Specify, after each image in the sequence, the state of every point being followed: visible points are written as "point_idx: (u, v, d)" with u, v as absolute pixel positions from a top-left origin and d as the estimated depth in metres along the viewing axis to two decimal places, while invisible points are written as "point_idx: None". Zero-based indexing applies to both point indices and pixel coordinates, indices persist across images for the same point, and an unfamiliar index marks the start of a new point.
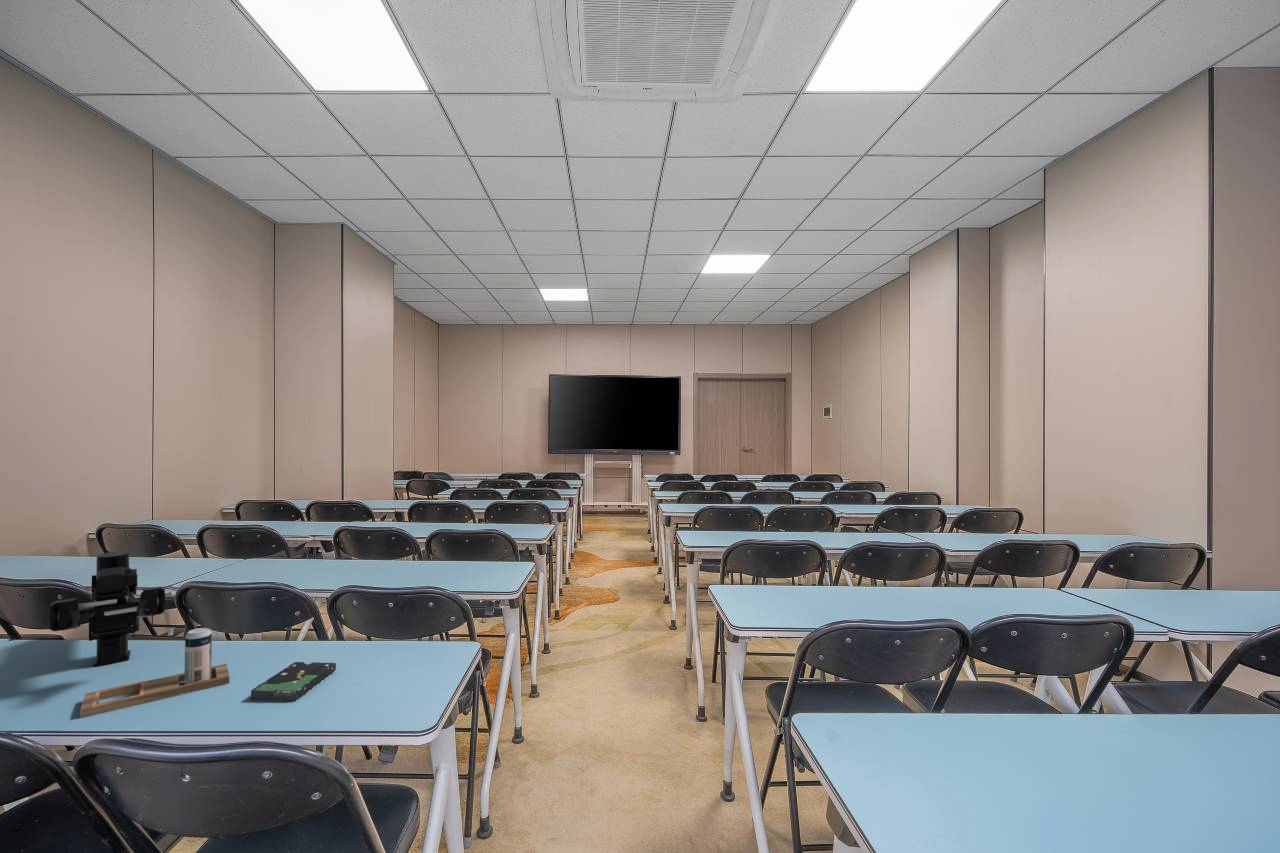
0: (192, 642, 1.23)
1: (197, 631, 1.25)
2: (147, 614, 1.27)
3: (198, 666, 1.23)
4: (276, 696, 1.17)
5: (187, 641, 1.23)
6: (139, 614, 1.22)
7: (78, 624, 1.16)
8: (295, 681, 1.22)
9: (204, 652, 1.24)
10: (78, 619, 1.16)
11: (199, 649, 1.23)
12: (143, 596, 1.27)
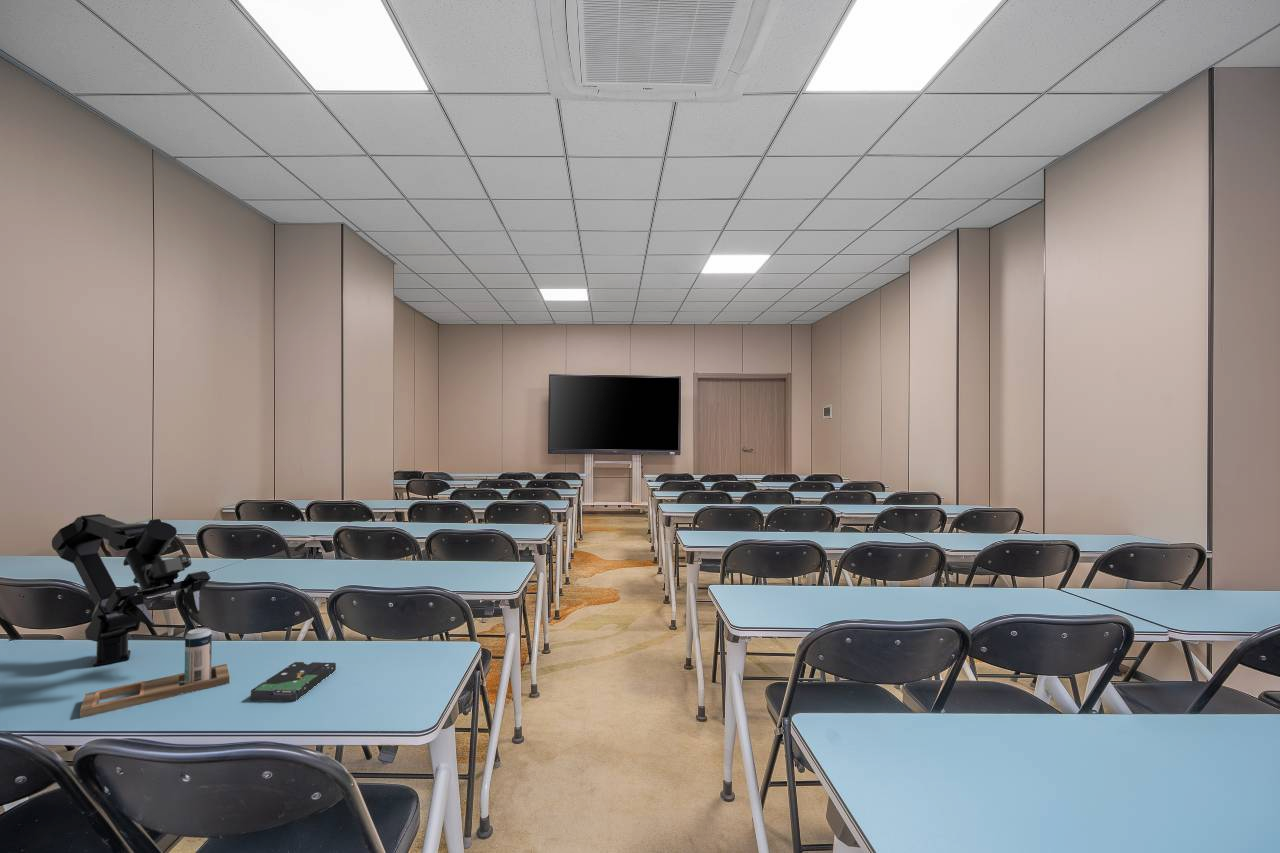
0: (192, 642, 1.23)
1: (197, 631, 1.25)
2: None
3: (198, 666, 1.23)
4: (276, 696, 1.17)
5: (187, 641, 1.23)
6: None
7: (151, 625, 1.24)
8: (295, 680, 1.22)
9: (204, 652, 1.24)
10: (151, 620, 1.24)
11: (199, 649, 1.23)
12: (195, 587, 1.34)
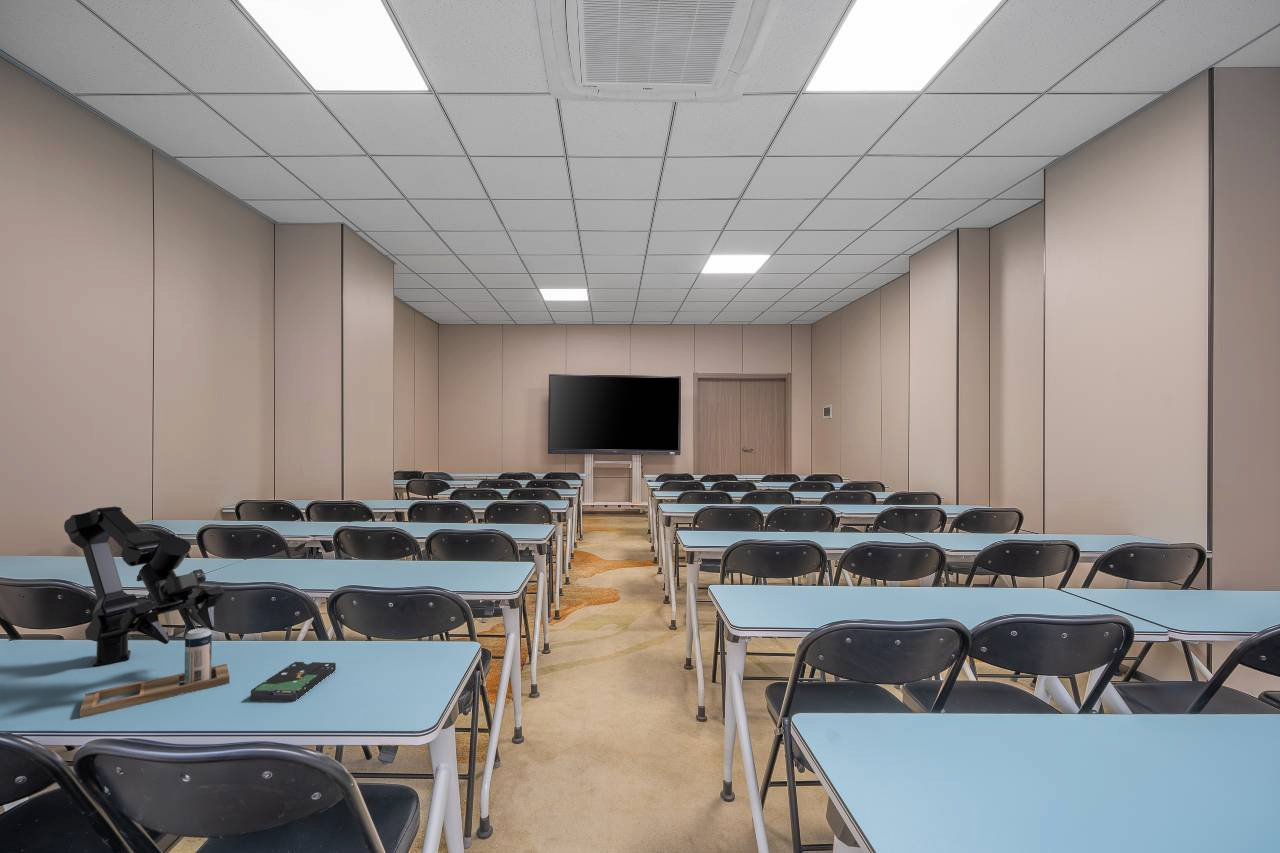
0: (192, 642, 1.23)
1: (197, 631, 1.25)
2: None
3: (198, 666, 1.23)
4: (276, 696, 1.17)
5: (187, 641, 1.23)
6: None
7: (167, 643, 1.22)
8: (295, 681, 1.22)
9: (204, 652, 1.24)
10: (166, 638, 1.22)
11: (199, 649, 1.23)
12: (210, 602, 1.32)
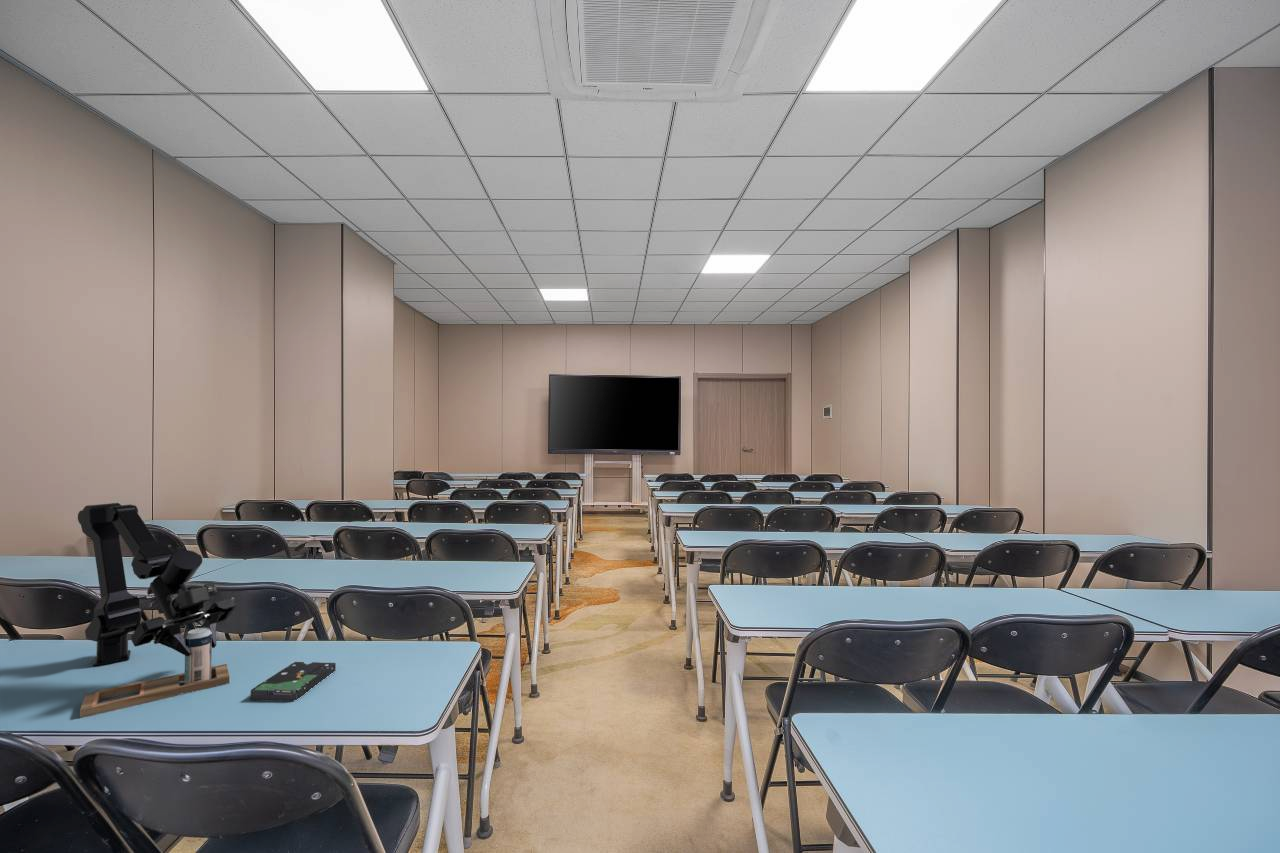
0: (192, 642, 1.23)
1: (197, 631, 1.25)
2: None
3: (198, 666, 1.23)
4: (275, 696, 1.17)
5: (187, 641, 1.23)
6: None
7: (189, 655, 1.22)
8: (295, 680, 1.22)
9: (204, 652, 1.24)
10: (188, 650, 1.22)
11: (199, 649, 1.23)
12: (212, 619, 1.29)
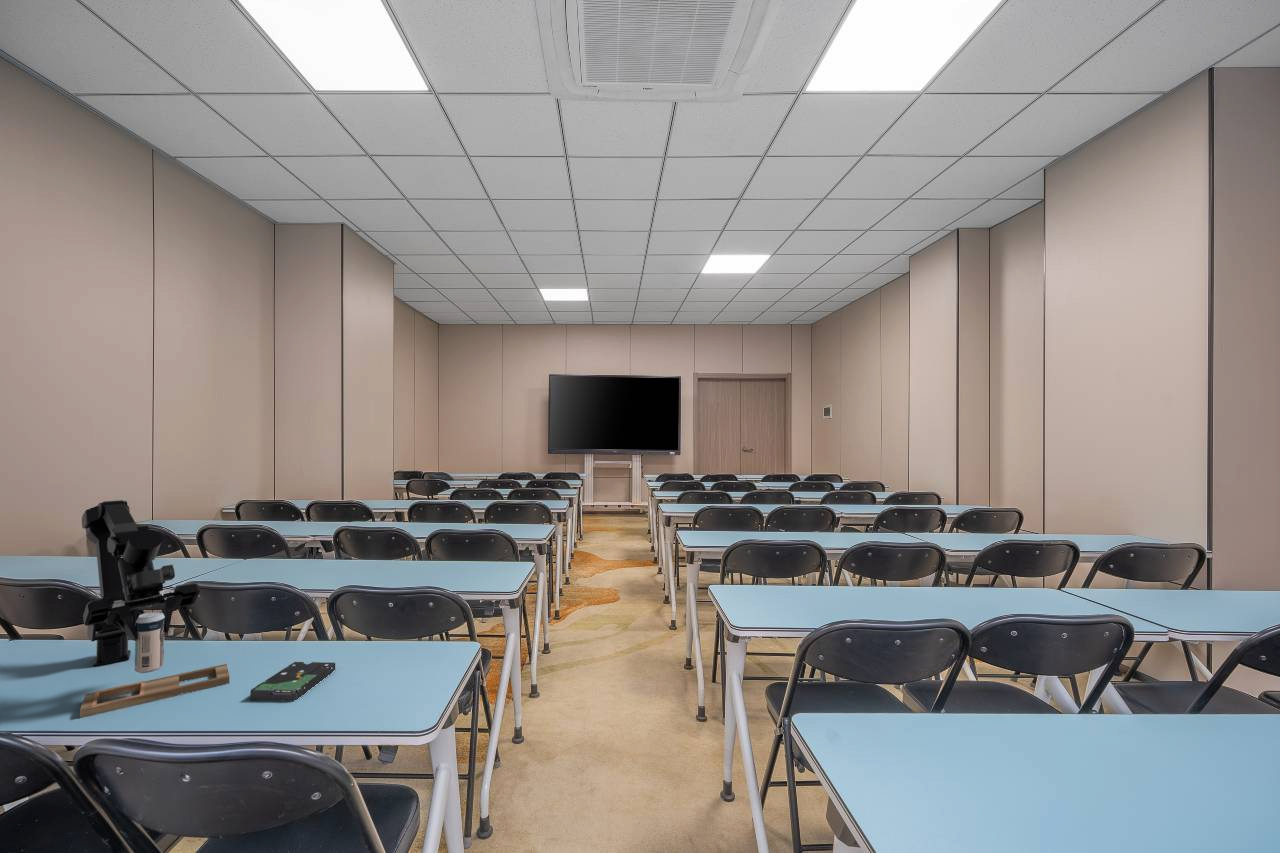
0: (140, 626, 1.17)
1: (148, 615, 1.19)
2: None
3: (146, 652, 1.18)
4: (275, 696, 1.17)
5: (136, 625, 1.17)
6: (168, 630, 1.21)
7: (135, 640, 1.17)
8: (295, 680, 1.22)
9: (152, 638, 1.18)
10: (135, 634, 1.16)
11: (147, 635, 1.17)
12: (169, 603, 1.23)
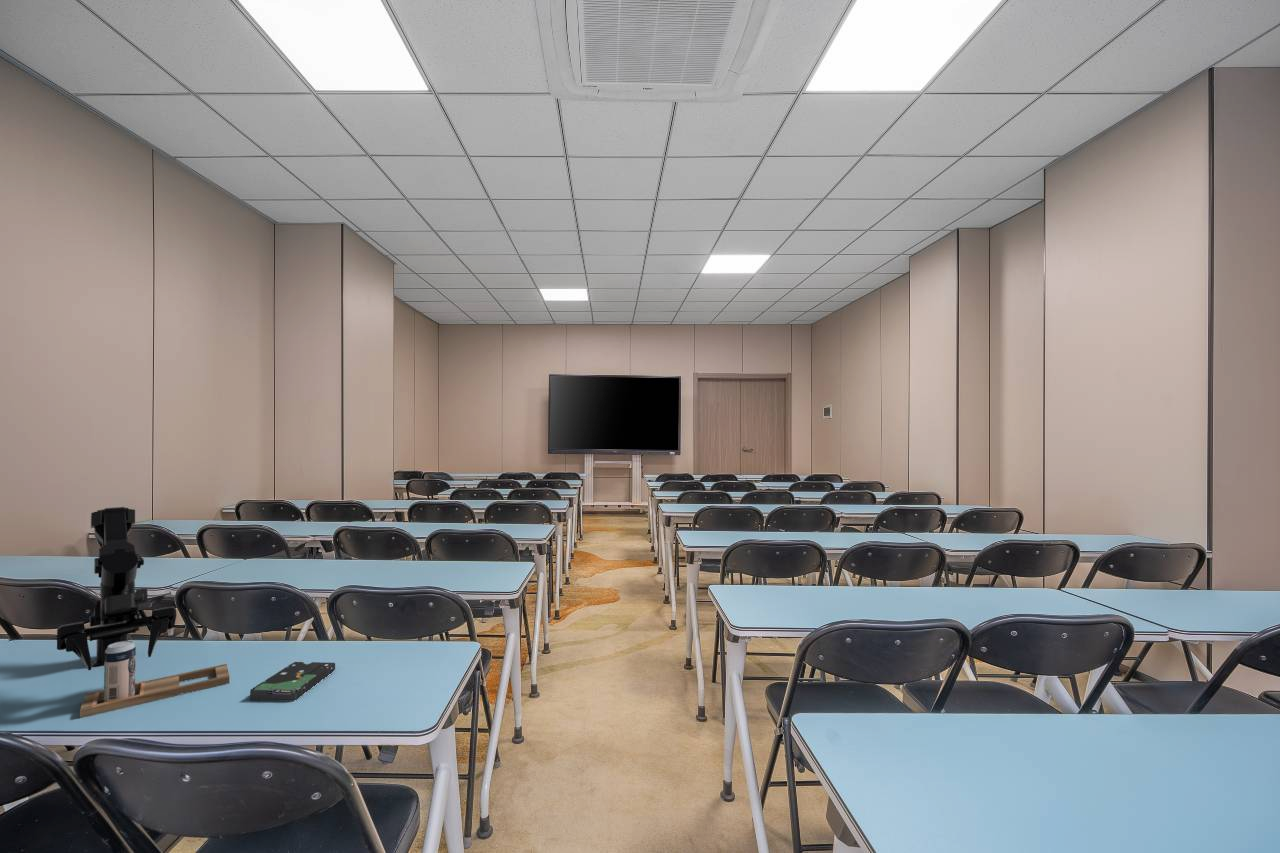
0: (107, 657, 1.14)
1: (118, 645, 1.17)
2: (157, 638, 1.24)
3: (114, 683, 1.15)
4: (275, 695, 1.17)
5: (105, 655, 1.15)
6: (151, 654, 1.20)
7: (89, 669, 1.12)
8: (295, 680, 1.22)
9: (120, 669, 1.15)
10: (89, 664, 1.12)
11: (114, 666, 1.15)
12: (154, 625, 1.22)
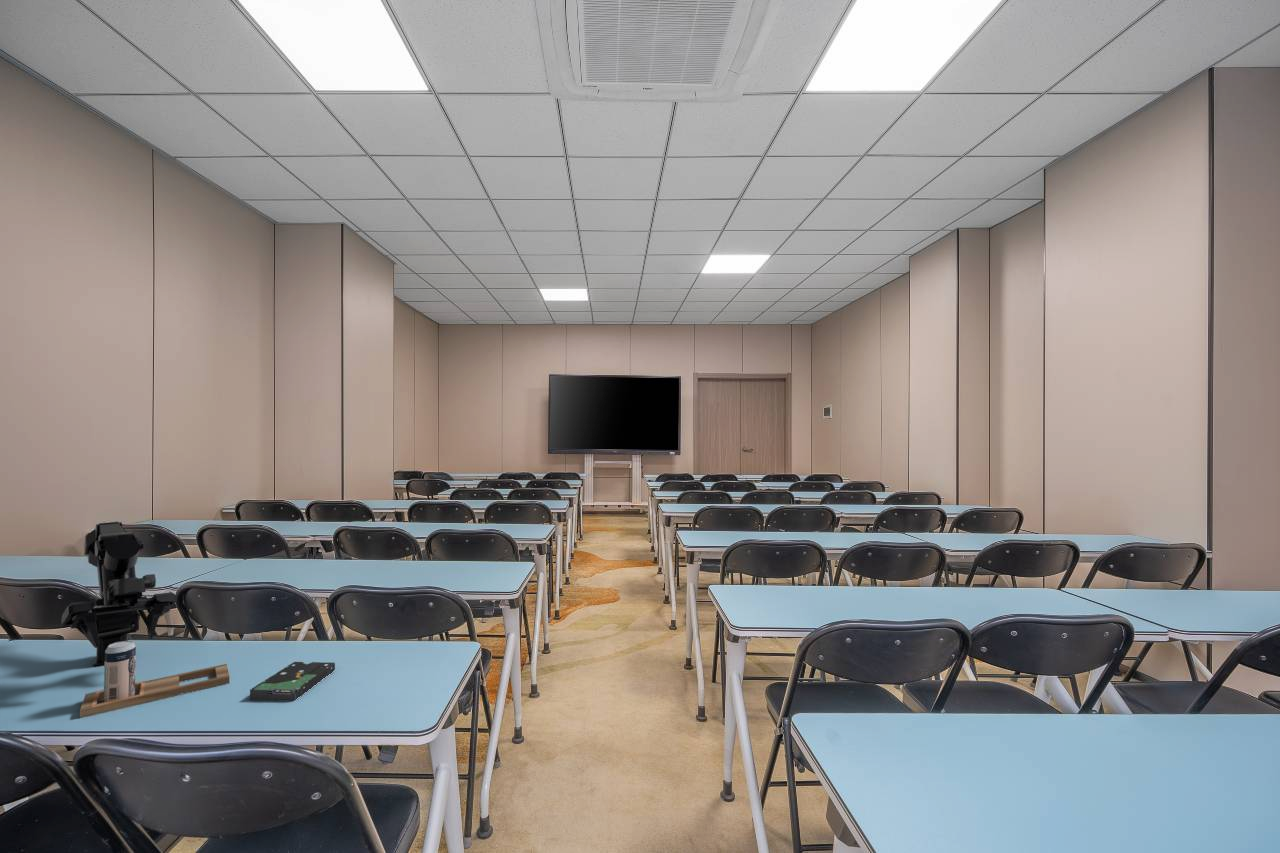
0: (107, 657, 1.14)
1: (118, 645, 1.17)
2: None
3: (114, 683, 1.15)
4: (275, 695, 1.17)
5: (105, 655, 1.15)
6: (152, 636, 1.28)
7: (96, 647, 1.20)
8: (294, 680, 1.22)
9: (120, 669, 1.15)
10: (97, 642, 1.20)
11: (114, 666, 1.15)
12: (156, 609, 1.30)
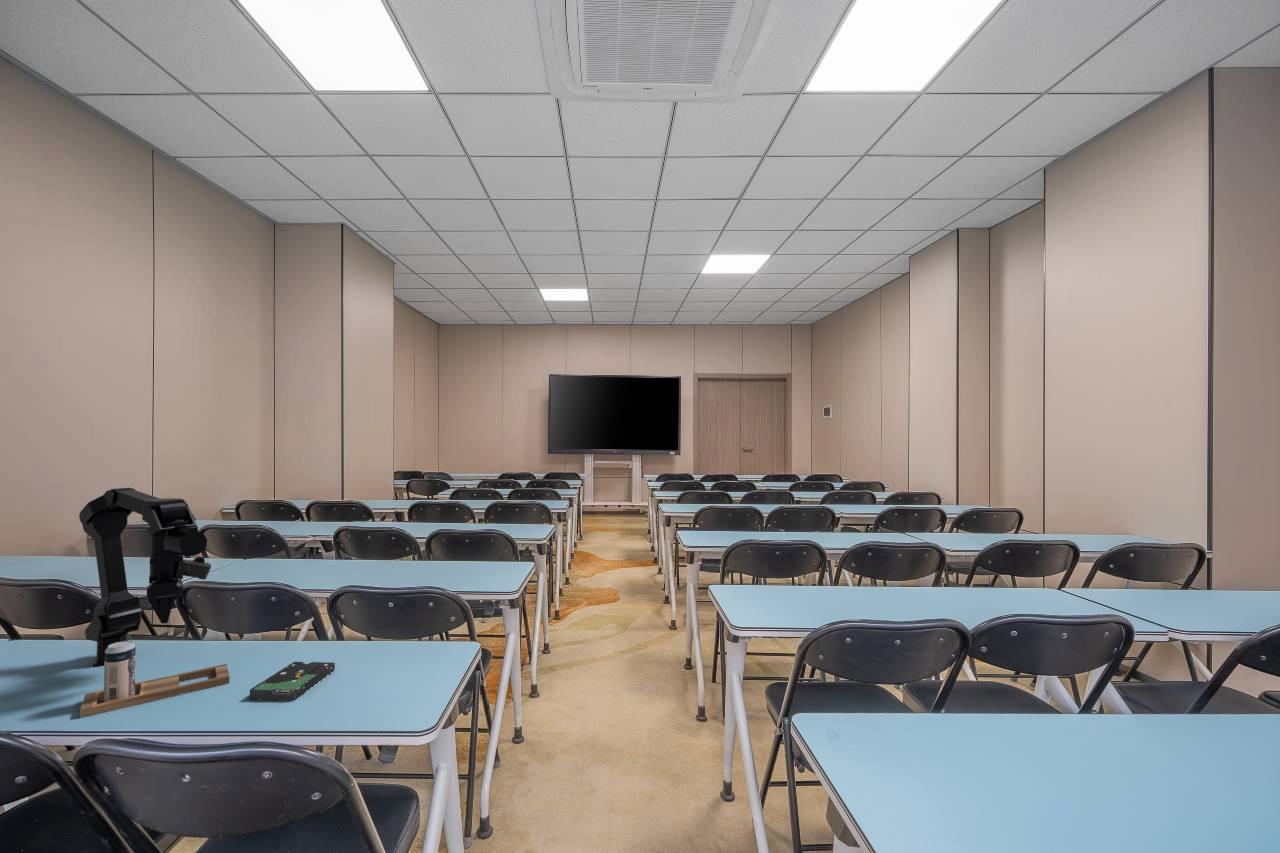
0: (107, 657, 1.14)
1: (118, 645, 1.16)
2: None
3: (114, 683, 1.15)
4: (275, 695, 1.17)
5: (105, 655, 1.15)
6: None
7: None
8: (294, 680, 1.22)
9: (120, 669, 1.15)
10: (168, 619, 1.27)
11: (114, 666, 1.15)
12: None
